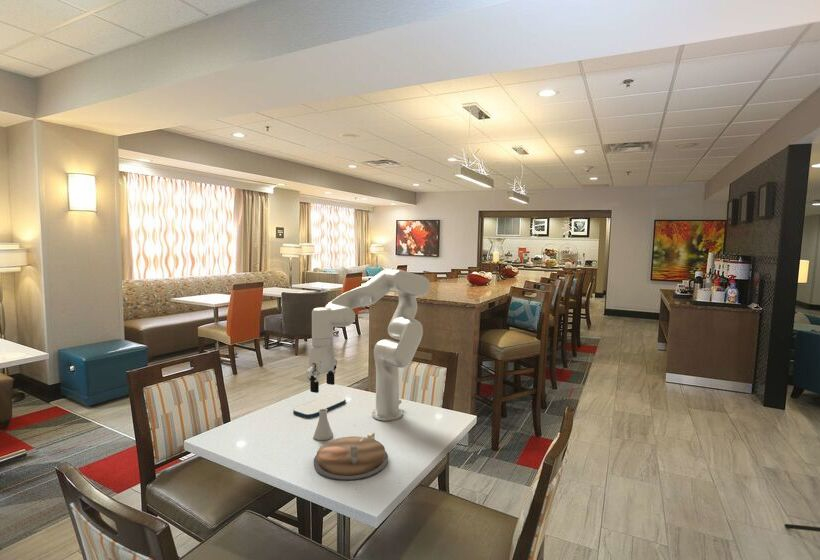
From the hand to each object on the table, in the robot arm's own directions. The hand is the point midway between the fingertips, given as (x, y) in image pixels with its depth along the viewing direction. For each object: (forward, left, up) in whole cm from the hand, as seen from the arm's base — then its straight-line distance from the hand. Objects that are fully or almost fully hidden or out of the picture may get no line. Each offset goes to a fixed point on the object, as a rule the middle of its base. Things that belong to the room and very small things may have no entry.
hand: (322, 388), depth 157 cm
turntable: (+11, +19, -17) cm, 28 cm away
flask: (0, 0, -18) cm, 18 cm away
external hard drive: (-23, -18, -19) cm, 35 cm away
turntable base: (+10, +19, -18) cm, 28 cm away
